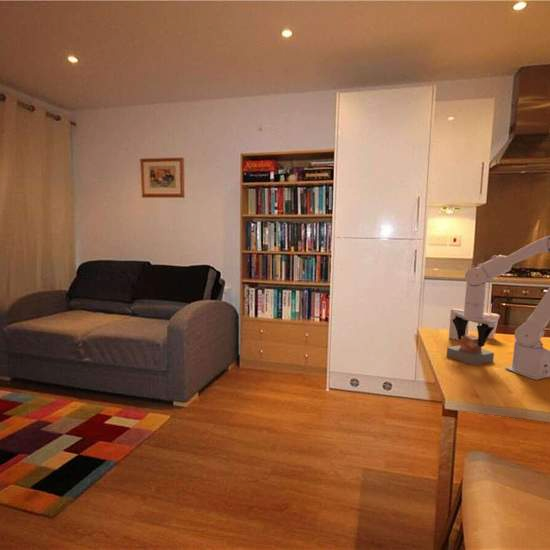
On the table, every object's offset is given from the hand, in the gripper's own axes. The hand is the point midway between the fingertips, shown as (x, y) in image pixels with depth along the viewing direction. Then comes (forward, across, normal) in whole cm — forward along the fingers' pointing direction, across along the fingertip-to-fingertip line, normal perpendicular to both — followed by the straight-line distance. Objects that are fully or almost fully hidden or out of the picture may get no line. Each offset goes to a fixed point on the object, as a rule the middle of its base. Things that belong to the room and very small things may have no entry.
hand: (470, 342), depth 126 cm
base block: (+6, 0, 0) cm, 6 cm away
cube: (+3, 0, 0) cm, 3 cm away
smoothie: (+6, +15, -30) cm, 34 cm away
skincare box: (+6, +18, -16) cm, 25 cm away
